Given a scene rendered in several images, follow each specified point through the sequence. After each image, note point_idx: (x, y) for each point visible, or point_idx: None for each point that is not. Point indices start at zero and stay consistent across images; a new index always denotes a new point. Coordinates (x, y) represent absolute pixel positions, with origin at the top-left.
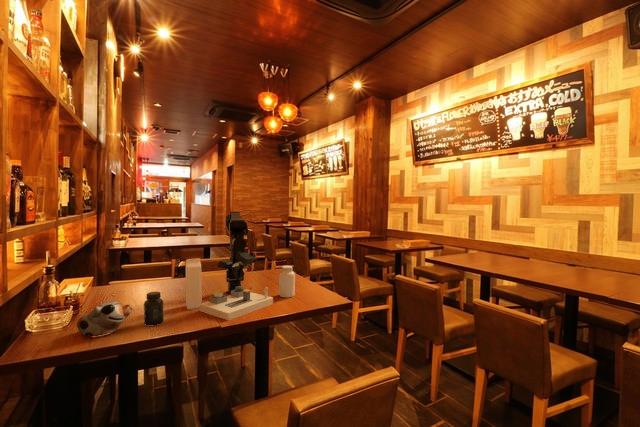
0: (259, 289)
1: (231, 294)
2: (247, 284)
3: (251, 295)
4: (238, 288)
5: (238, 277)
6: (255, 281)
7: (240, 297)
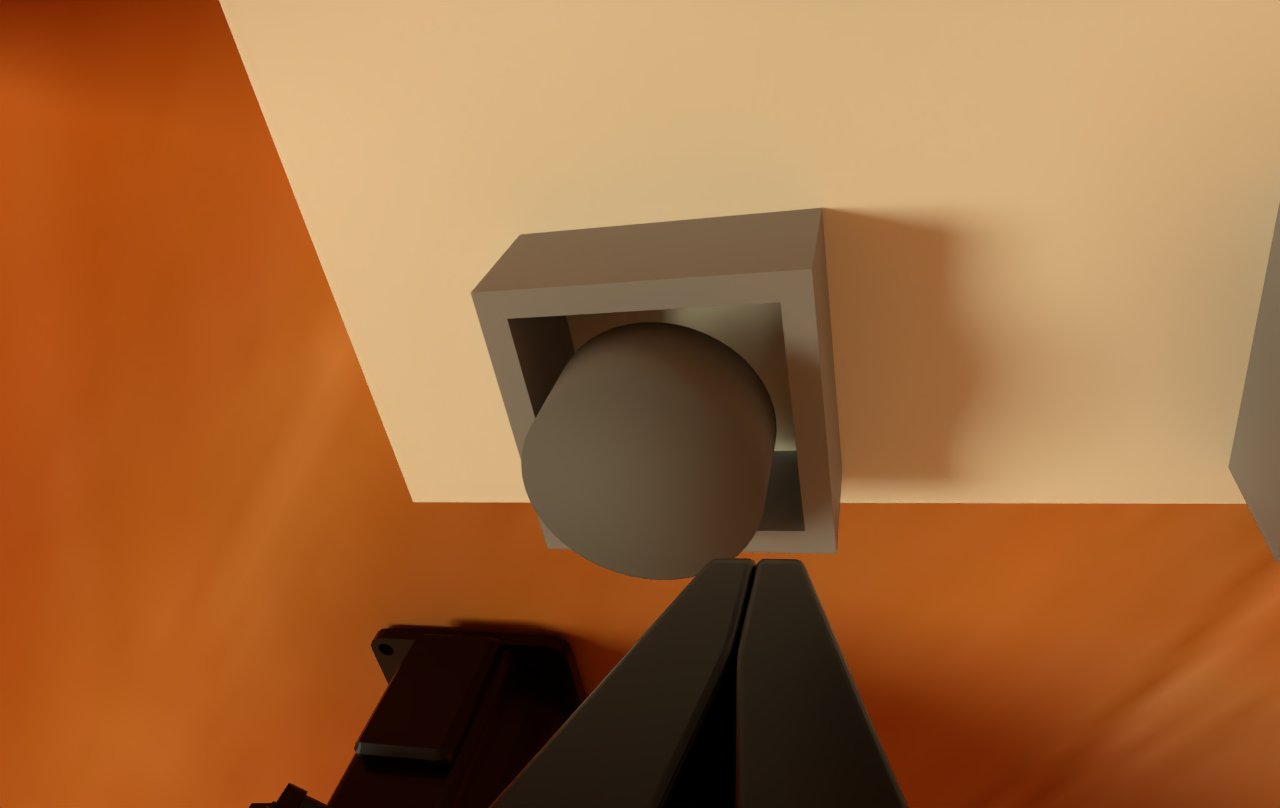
0: (111, 540)
1: (839, 474)
2: (199, 785)
3: (451, 123)
4: (723, 414)
5: (775, 633)
6: (71, 789)
7: (767, 192)
